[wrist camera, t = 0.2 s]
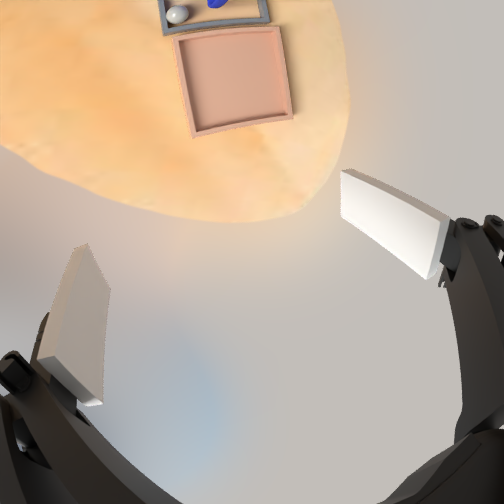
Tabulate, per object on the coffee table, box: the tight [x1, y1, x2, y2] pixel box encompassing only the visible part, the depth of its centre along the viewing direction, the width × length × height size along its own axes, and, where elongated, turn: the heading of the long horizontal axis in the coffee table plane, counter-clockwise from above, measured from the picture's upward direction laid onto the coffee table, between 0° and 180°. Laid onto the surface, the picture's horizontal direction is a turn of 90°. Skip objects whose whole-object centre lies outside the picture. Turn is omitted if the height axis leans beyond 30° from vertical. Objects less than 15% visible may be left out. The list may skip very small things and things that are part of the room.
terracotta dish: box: [171, 27, 293, 138], centre depth 31 cm, size 15×15×2 cm
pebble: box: [166, 5, 189, 24], centre depth 24 cm, size 3×3×3 cm
